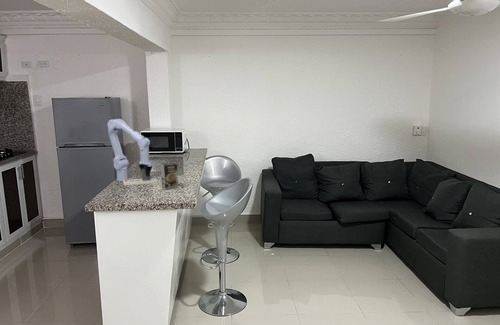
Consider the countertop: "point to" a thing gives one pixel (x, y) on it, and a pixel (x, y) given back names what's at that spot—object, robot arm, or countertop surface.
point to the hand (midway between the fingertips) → (145, 175)
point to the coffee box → (169, 176)
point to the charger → (144, 174)
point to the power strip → (139, 181)
